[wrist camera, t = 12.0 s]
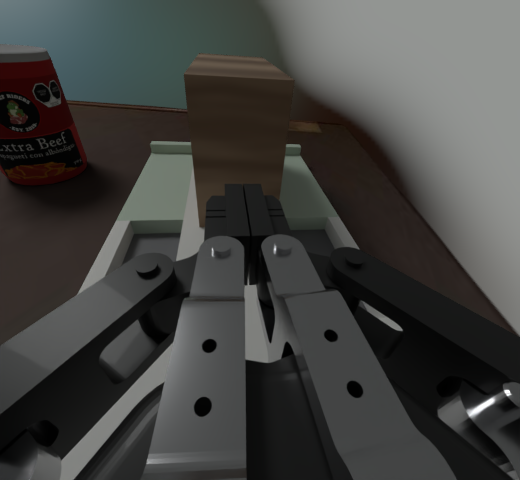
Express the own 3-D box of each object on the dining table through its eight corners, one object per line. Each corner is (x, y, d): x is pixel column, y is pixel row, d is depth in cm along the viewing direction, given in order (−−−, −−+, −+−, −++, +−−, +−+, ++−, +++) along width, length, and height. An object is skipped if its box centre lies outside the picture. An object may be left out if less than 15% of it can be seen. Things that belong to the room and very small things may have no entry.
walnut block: (276, 225, 21) (294, 80, 15) (199, 227, 20) (183, 74, 14) (256, 157, 32) (262, 57, 25) (206, 157, 31) (199, 53, 24)
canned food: (2, 193, 25) (-88, 50, 18) (9, 162, 30) (-59, 41, 23) (93, 178, 28) (47, 53, 21) (86, 153, 33) (47, 45, 26)
